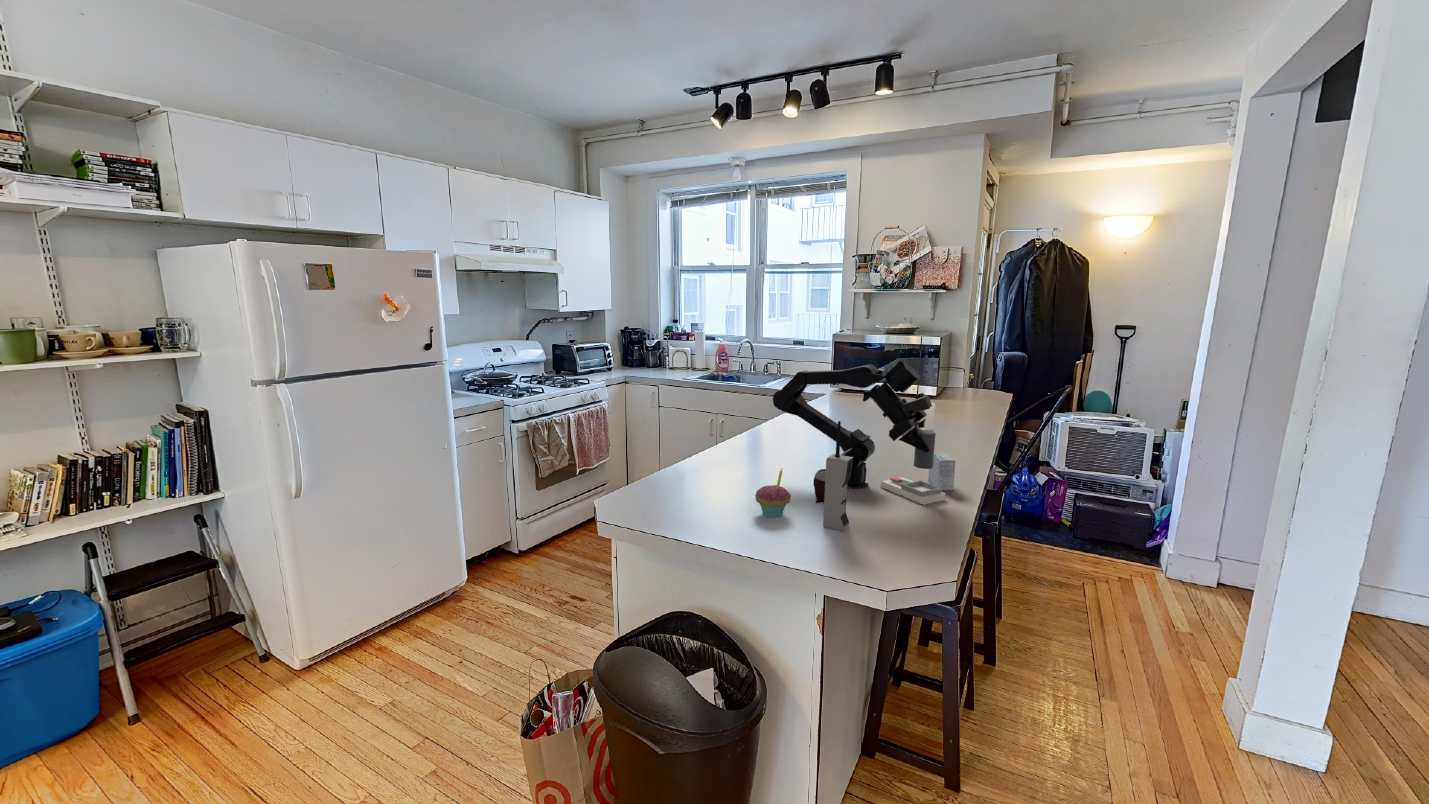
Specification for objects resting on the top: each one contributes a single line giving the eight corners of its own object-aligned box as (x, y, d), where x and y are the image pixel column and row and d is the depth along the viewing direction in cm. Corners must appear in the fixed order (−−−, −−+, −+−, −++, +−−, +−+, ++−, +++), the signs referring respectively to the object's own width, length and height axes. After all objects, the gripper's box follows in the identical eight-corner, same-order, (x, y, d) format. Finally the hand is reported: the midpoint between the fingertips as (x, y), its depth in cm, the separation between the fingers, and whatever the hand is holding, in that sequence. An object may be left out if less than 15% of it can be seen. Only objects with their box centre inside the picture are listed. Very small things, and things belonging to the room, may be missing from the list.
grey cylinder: (923, 469, 147) (926, 432, 145) (909, 465, 151) (912, 428, 150) (936, 467, 149) (940, 430, 148) (922, 462, 154) (925, 426, 152)
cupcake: (793, 510, 141) (794, 464, 139) (785, 523, 133) (787, 474, 131) (759, 506, 144) (760, 460, 142) (750, 518, 136) (751, 469, 134)
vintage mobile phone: (843, 532, 129) (850, 424, 124) (822, 527, 131) (828, 421, 127) (849, 526, 132) (855, 421, 127) (828, 522, 134) (834, 418, 130)
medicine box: (953, 490, 157) (956, 460, 156) (937, 490, 157) (940, 460, 156) (942, 481, 165) (945, 452, 163) (927, 481, 165) (929, 452, 164)
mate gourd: (808, 498, 150) (810, 443, 147) (834, 495, 152) (837, 440, 150) (821, 508, 143) (824, 450, 140) (849, 505, 146) (852, 448, 143)
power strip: (922, 504, 146) (923, 493, 146) (881, 487, 159) (881, 477, 159) (944, 500, 150) (945, 489, 149) (902, 483, 163) (902, 473, 162)
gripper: (905, 388, 141) (948, 438, 137) (921, 380, 156) (961, 424, 153) (871, 416, 146) (912, 464, 143) (890, 405, 162) (928, 448, 158)
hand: (930, 449), depth 149 cm, fingers closed on grey cylinder, 5 cm apart
